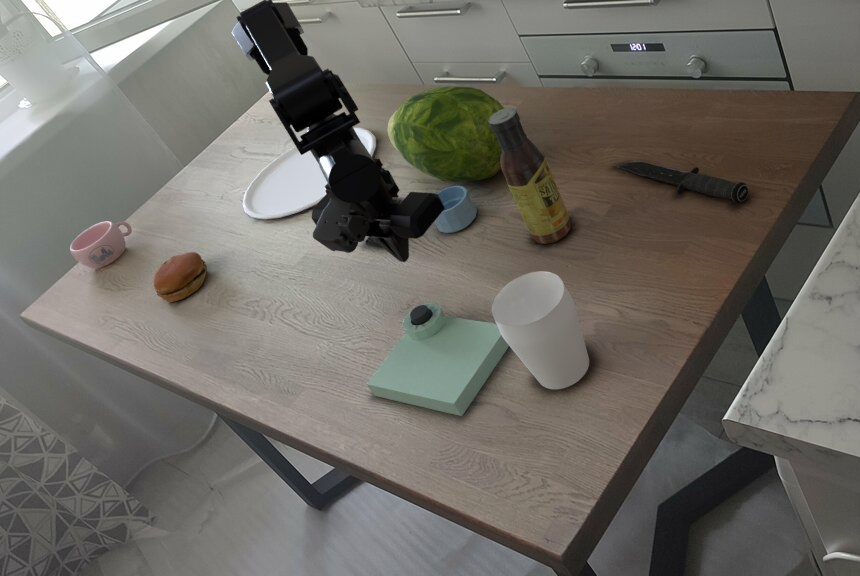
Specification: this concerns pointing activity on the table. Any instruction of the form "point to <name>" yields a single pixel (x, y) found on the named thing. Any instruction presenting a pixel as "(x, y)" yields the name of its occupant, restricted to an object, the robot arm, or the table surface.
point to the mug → (100, 244)
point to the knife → (690, 180)
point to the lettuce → (448, 133)
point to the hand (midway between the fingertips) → (404, 259)
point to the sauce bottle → (530, 179)
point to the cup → (542, 328)
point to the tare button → (420, 315)
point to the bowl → (455, 209)
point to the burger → (180, 276)
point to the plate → (291, 183)
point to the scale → (440, 362)
